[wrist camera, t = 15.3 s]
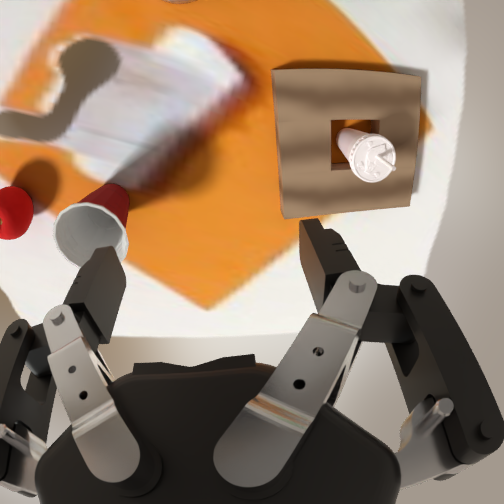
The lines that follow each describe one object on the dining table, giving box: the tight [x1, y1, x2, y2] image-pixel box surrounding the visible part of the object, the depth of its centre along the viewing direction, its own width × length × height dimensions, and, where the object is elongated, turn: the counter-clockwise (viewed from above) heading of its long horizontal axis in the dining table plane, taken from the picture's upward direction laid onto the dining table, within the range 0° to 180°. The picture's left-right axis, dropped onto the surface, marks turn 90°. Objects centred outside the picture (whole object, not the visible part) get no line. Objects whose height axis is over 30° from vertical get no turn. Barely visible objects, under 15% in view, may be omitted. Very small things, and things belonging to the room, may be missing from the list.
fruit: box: [0, 186, 34, 240], centre depth 37 cm, size 9×9×10 cm
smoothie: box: [336, 128, 396, 182], centre depth 36 cm, size 6×6×14 cm
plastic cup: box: [53, 184, 130, 268], centre depth 39 cm, size 11×11×12 cm
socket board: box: [271, 68, 421, 219], centre depth 41 cm, size 22×22×3 cm
